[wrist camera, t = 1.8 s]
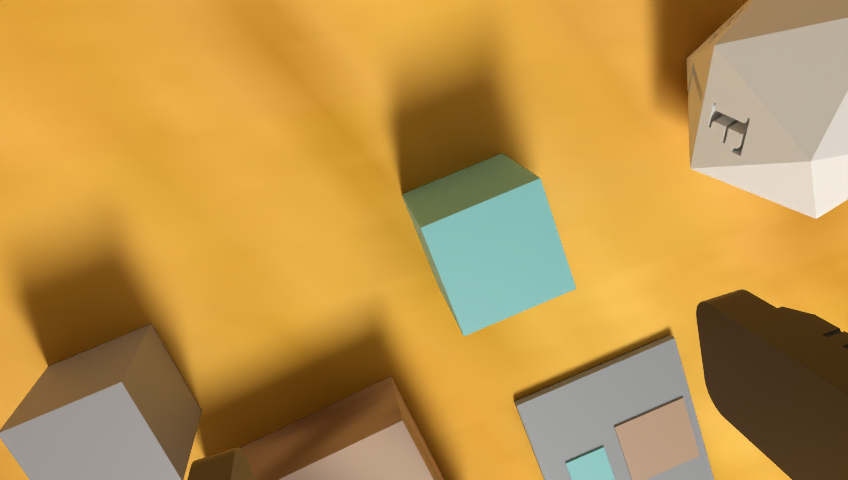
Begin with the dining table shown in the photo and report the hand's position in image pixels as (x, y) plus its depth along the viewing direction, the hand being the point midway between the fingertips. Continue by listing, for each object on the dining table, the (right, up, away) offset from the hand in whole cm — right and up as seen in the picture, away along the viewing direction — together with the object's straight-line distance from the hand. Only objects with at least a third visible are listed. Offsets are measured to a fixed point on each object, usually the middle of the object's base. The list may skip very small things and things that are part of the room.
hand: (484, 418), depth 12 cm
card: (+9, -7, +22) cm, 25 cm away
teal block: (+1, +4, +18) cm, 18 cm away
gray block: (-13, -3, +17) cm, 22 cm away
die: (+13, +10, +18) cm, 24 cm away
